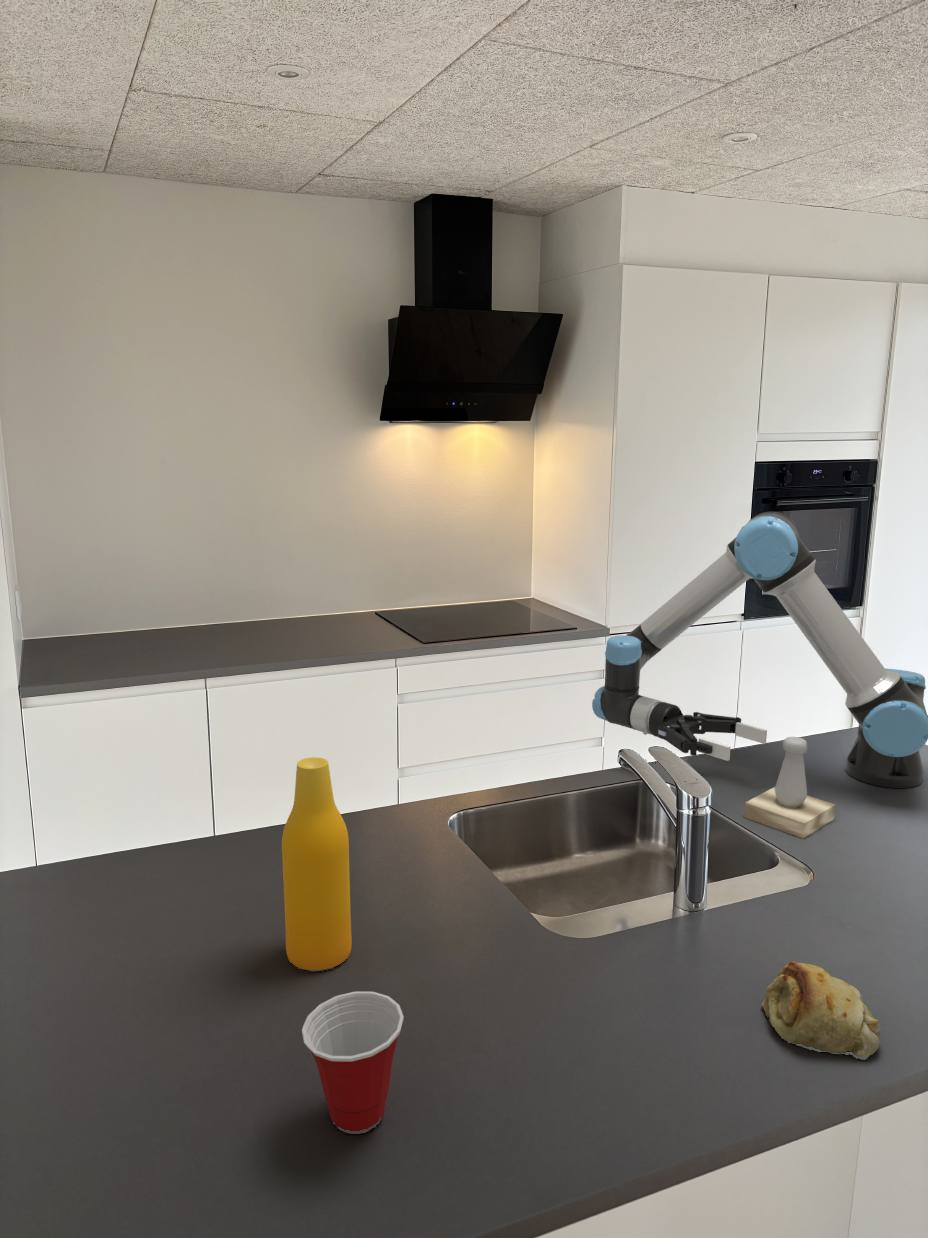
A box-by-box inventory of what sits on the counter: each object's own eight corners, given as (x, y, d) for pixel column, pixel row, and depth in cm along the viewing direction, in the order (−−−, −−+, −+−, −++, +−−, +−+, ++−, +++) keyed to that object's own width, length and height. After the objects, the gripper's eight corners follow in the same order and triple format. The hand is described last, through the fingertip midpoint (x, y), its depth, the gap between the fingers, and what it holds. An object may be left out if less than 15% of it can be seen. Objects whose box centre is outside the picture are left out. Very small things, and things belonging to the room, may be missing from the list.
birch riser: (775, 799, 180) (776, 785, 179) (834, 819, 171) (835, 804, 171) (743, 817, 172) (745, 802, 171) (803, 838, 163) (804, 823, 163)
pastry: (739, 1011, 116) (744, 956, 115) (808, 984, 122) (814, 931, 120) (827, 1081, 104) (833, 1021, 102) (899, 1048, 110) (907, 990, 108)
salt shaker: (807, 811, 167) (813, 746, 165) (774, 808, 169) (780, 742, 166) (804, 799, 173) (810, 735, 170) (773, 795, 174) (778, 732, 172)
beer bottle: (365, 953, 128) (361, 762, 122) (313, 982, 122) (305, 782, 115) (324, 928, 134) (318, 745, 128) (273, 955, 128) (263, 763, 121)
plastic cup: (309, 1082, 103) (306, 990, 101) (404, 1077, 104) (402, 986, 102) (301, 1158, 93) (296, 1058, 90) (406, 1152, 94) (404, 1052, 91)
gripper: (689, 722, 200) (778, 747, 185) (620, 749, 184) (711, 780, 168) (691, 689, 198) (781, 713, 183) (621, 714, 182) (713, 742, 167)
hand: (748, 745), depth 176 cm, fingers open, 13 cm apart
